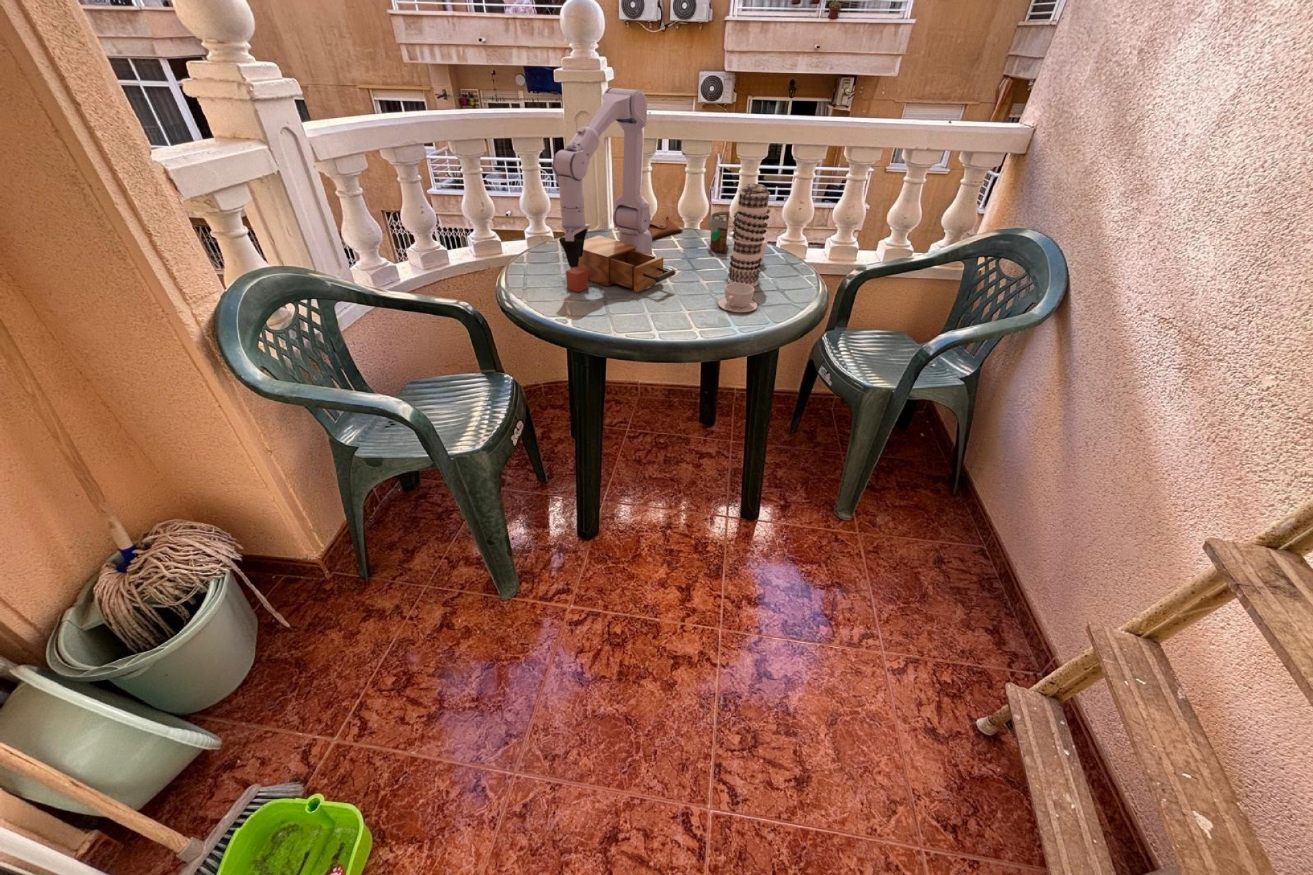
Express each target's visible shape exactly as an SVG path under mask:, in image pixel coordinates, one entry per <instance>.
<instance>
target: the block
mask: <svg viewBox="0 0 1313 875" xmlns="http://www.w3.org/2000/svg"><path fill="white" fill-rule="evenodd" d="M565 277H566V289H568V290H571V291H573V292H576V293H580V292H582V291H585V290H587V289H589V280H588V274H587V270H584V269H581V268H578V267H575V268H573V269H570V268H569V269H567V270H565Z"/></svg>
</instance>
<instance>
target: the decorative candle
mask: <svg viewBox="0 0 1313 875" xmlns="http://www.w3.org/2000/svg"><path fill="white" fill-rule="evenodd" d="M738 193H739V195H738V202H737V205H736V206H737V207H736V210H737V211H736V212H734V215H733V218H734V219H733V222H732V224H733V229H732V232H733V233H732V236H731V237H732V240H733V241H734V242H733V248H732V249H731V255H730V257H729V258H730V261H729V264H730V266H729V268H728V272H729V273H728V275H727V277H728V279H727V282H728V284H730V283H744V284H748V285H751V286H752V287H753V288H755V287H756V286H758V284H759V278H760V276H759V275H760V273H761V270H760V268H761V266H762V265H761V264H760V262H761V260H762V258H761V252H762V251H761V248H762V243H763V242H764V239H766V238H765V237H764V234H766V233H767V229H766V228H768V223H766V221H767V220H769V219H770V215H769V214H770V212H771V209H769V198H770V195H771V192H770V191H768V187H767V186H766V185H764V184H761V183H760V184H759V183H747V184H744V185H743V186H742V188H741V189H739V190H738Z"/></svg>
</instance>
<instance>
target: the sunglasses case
mask: <svg viewBox="0 0 1313 875" xmlns="http://www.w3.org/2000/svg"><path fill="white" fill-rule="evenodd" d="M647 230H649V232H650V233H651V236H652V241H653V240H656V239H659V238H664V237H669V236H672V235H675V234H678V233H680V232H683V231H684V230H683V229H682V228H680V227H679V226H678V225H677V224H676V223H675V222H674V221H672V220H671V219H670V217H669V216H666V217H663V218H659V219H654V220H651V221H650V225H649V228H648V229H647Z"/></svg>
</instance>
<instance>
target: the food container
mask: <svg viewBox="0 0 1313 875" xmlns="http://www.w3.org/2000/svg"><path fill="white" fill-rule="evenodd" d="M729 222H730V211H717V212H714V213H711V215H710V217H709V220H708V224H709V225H710V245H709V246H710V250H711V251H713V252H715V253H719V254H726V249H727V240H728V232H729Z"/></svg>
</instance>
